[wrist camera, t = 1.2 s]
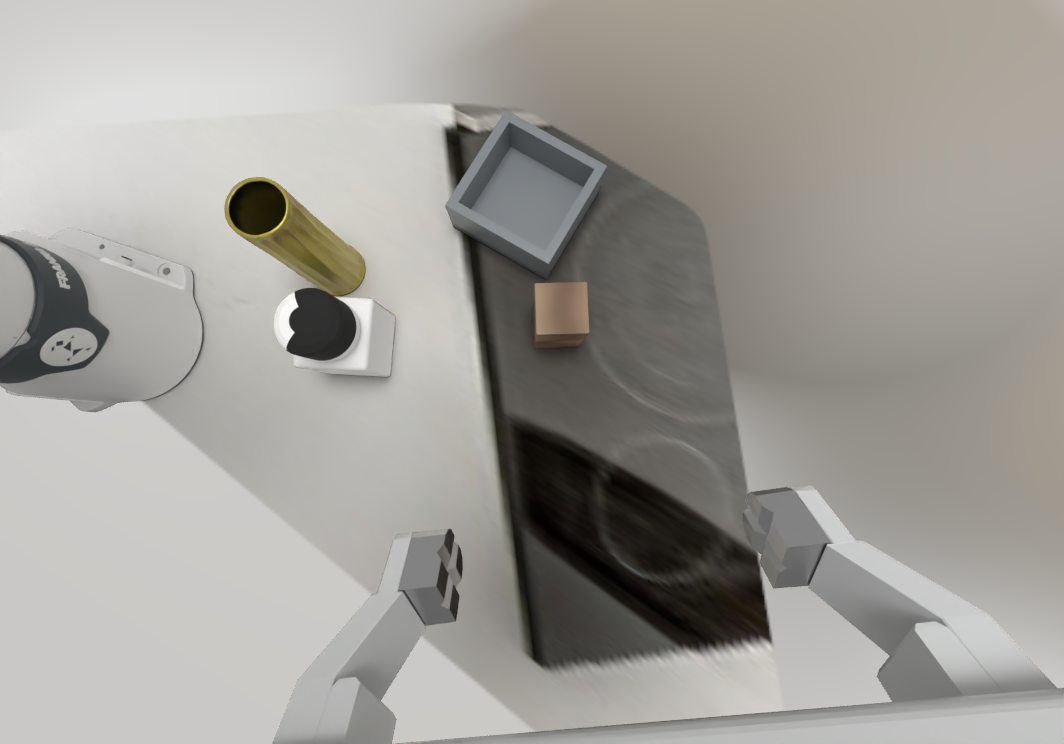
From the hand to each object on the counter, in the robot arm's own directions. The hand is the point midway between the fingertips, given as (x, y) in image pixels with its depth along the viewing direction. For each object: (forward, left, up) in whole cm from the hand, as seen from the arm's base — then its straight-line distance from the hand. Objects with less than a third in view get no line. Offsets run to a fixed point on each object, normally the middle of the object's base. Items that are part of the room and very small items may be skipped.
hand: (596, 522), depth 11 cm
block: (-5, +12, -34) cm, 36 cm away
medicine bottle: (-23, -1, -34) cm, 41 cm away
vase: (-30, +5, -34) cm, 46 cm away
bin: (-15, +22, -34) cm, 43 cm away
